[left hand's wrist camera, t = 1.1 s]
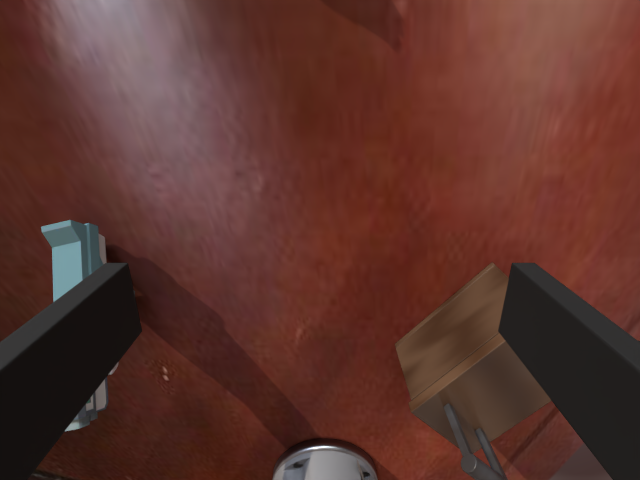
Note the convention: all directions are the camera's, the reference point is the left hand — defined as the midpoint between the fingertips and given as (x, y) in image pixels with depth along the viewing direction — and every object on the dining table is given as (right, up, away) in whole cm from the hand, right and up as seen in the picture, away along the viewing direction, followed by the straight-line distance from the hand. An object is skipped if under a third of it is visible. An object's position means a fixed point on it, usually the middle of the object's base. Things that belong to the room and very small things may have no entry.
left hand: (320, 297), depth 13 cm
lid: (+18, -12, +23) cm, 32 cm away
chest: (+18, -9, +32) cm, 37 cm away
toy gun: (-24, -3, +30) cm, 38 cm away
